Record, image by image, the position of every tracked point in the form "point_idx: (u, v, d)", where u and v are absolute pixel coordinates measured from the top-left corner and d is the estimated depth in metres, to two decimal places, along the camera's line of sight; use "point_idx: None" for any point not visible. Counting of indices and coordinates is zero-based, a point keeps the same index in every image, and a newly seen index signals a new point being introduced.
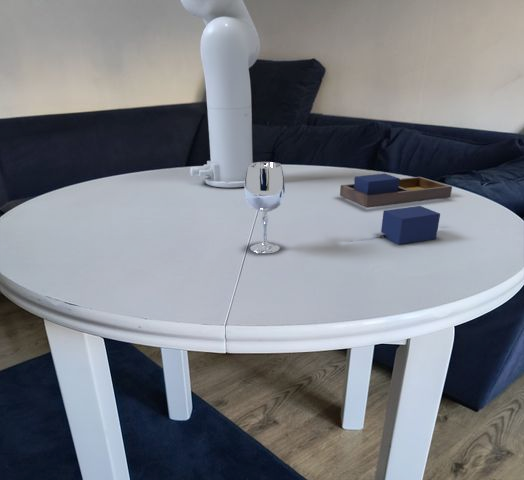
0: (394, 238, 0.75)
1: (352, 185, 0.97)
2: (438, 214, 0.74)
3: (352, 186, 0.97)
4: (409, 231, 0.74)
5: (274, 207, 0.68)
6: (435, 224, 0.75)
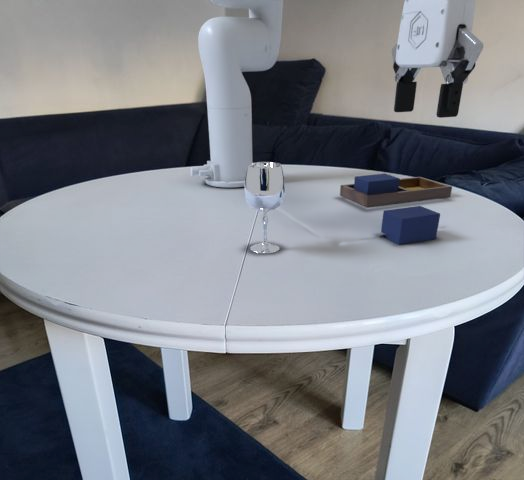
0: (394, 238, 0.75)
1: (352, 185, 0.97)
2: (438, 214, 0.74)
3: (352, 186, 0.97)
4: (409, 231, 0.74)
5: (274, 207, 0.68)
6: (435, 224, 0.75)
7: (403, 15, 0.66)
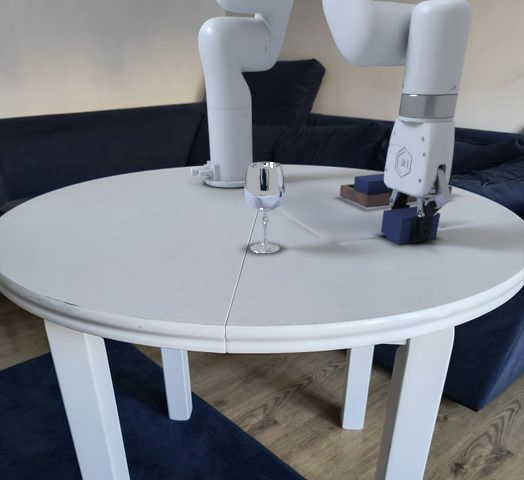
0: (394, 238, 0.75)
1: (352, 185, 0.97)
2: (438, 214, 0.74)
3: (352, 186, 0.97)
4: (409, 231, 0.74)
5: (274, 207, 0.68)
6: (435, 224, 0.75)
7: (390, 144, 0.72)
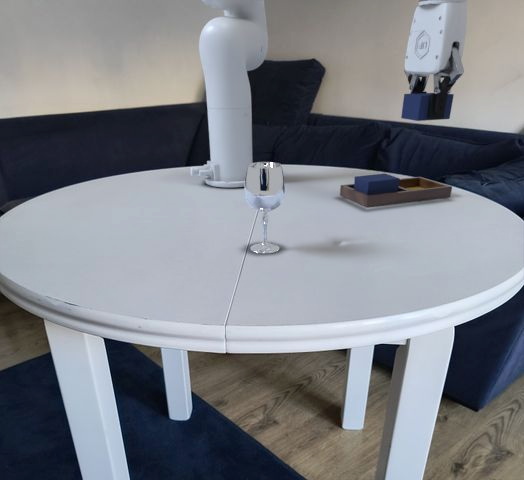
0: (413, 116, 0.86)
1: (352, 185, 0.97)
2: (452, 95, 0.86)
3: (352, 186, 0.97)
4: (427, 108, 0.85)
5: (274, 207, 0.68)
6: (449, 104, 0.86)
7: (411, 32, 0.84)
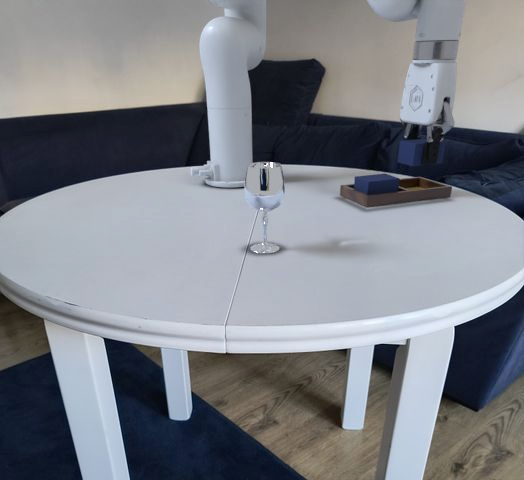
0: (409, 162, 0.93)
1: (352, 185, 0.97)
2: (444, 142, 0.93)
3: (352, 186, 0.97)
4: (421, 155, 0.92)
5: (274, 207, 0.68)
6: (441, 150, 0.93)
7: (405, 85, 0.91)
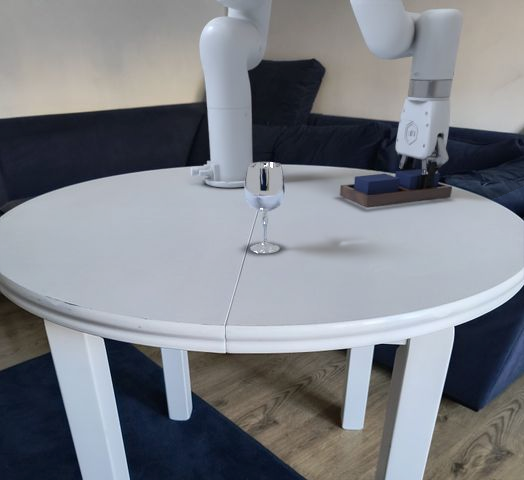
0: None
1: (352, 185, 0.97)
2: (438, 173, 0.96)
3: (352, 186, 0.97)
4: (416, 186, 0.95)
5: (274, 207, 0.68)
6: (436, 181, 0.96)
7: (401, 119, 0.94)
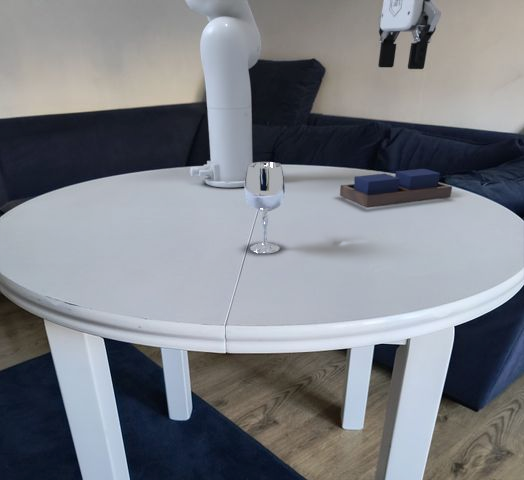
0: None
1: (352, 185, 0.97)
2: (438, 173, 0.96)
3: (352, 186, 0.97)
4: (416, 186, 0.95)
5: (274, 207, 0.68)
6: (436, 181, 0.96)
7: None
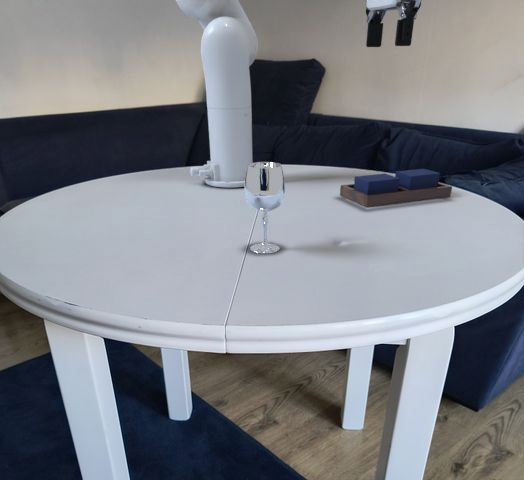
0: None
1: (352, 185, 0.97)
2: (438, 173, 0.96)
3: (352, 186, 0.97)
4: (416, 186, 0.95)
5: (274, 207, 0.68)
6: (436, 181, 0.96)
7: None
